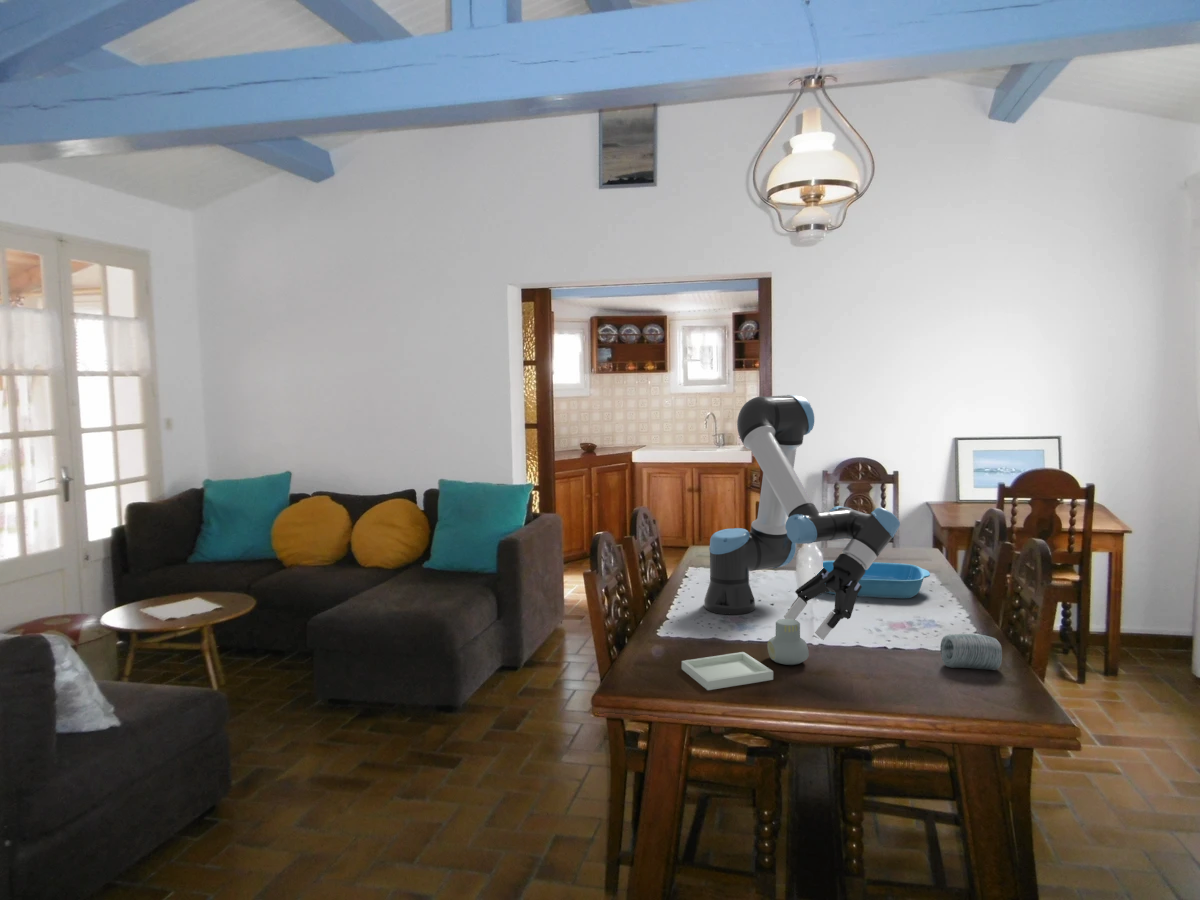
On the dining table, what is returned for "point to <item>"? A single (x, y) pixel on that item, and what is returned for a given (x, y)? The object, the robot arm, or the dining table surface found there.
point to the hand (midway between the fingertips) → (802, 628)
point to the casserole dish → (888, 580)
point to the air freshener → (787, 643)
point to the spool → (971, 651)
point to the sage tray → (726, 670)
